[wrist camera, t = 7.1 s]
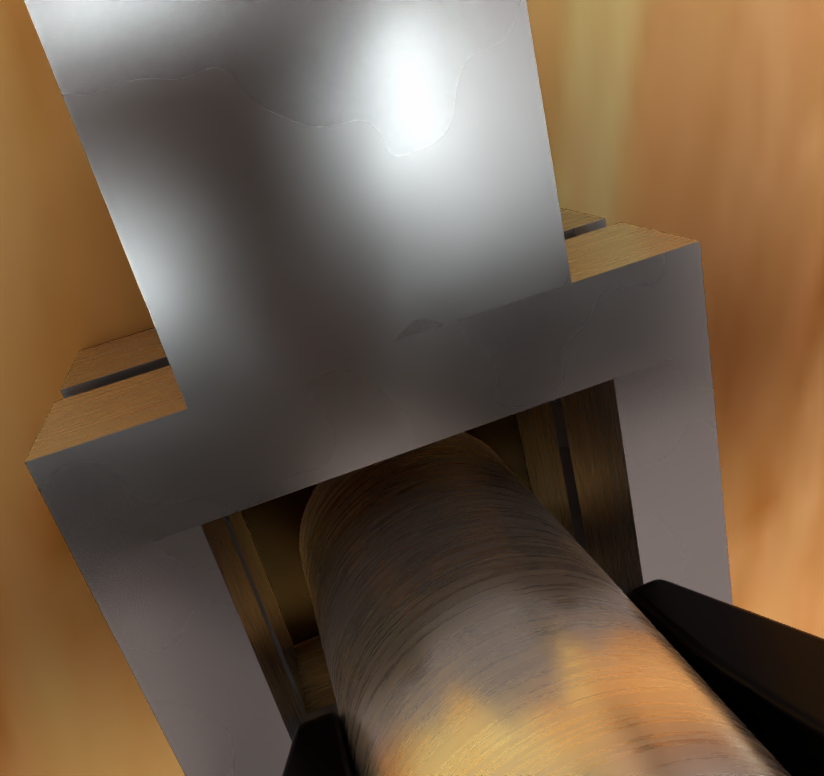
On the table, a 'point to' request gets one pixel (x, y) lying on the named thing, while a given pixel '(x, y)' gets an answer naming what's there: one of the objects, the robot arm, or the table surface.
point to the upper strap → (346, 317)
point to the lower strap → (301, 660)
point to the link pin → (494, 635)
